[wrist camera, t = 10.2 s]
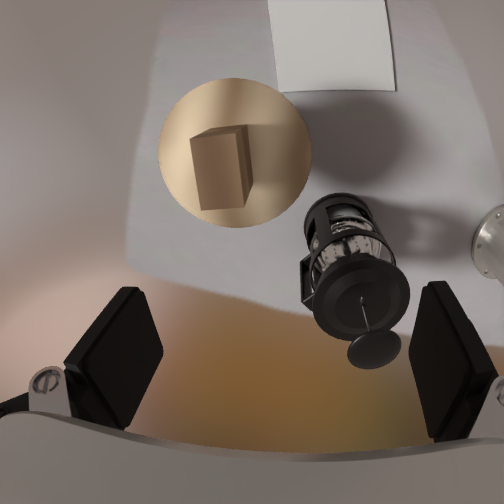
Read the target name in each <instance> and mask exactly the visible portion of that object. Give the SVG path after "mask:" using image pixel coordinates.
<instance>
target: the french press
mask: <svg viewBox="0 0 504 504" xmlns="http://www.w3.org/2000/svg"><path fill="white" fill-rule="evenodd" d="M345 204H346V205H350V206H352V207H354V208H356V209H357V210H358V211H359V212H360V213H361V215H362V217H363V218H362V217H360V216H356V215H339V216H335V217H332V218H330V219H329V218H328V214H327V211H326V209H327V208H330V207H332V206H336V205H345ZM314 223H315V225H316V230H317V231H316V232H315V234H314ZM304 234H305V238H306V240H307V245H308V249H309V251H310V254H309V255H308V256H307V257H305V258H304V259H303V260H302V261H300V283H301V302H302V303H303V304H304V305H305V306H306V307H307V308H308V309H309V310H310V311H313V314H314V318H315V320H316V322H317V324H318V325H319V326H320V327H321V329H322V330H323V331H325V332H326V333H328V334H329V335H331V336H333V337H335V338H337V339H341V340H345V341H353V342H352V343H351V344H350V346H349V348H348V352H347V356H348V359H349V361H350V362H351V364H352V365H354V366H355V367H358V368H361V369H376V368H379V367H382V366H385V365H387V364H388V363H390V362H391V361H392V360H394V359H395V358H396V356H397V355H398V354H399V352H400V349H401V339H400V337H399V336H398V335H397V334H396V333H395V332H393V331H391V330H390V329H391V328H392V327H394V326H395V325H396V324H397V323H398V322H399V321H400V319H401V318H402V317H403V315H404V314H405V312H406V310H407V307H408V305H409V300H410V287H409V284H408V281H407V279H406V277H405V275H404V274H403V272H402V271H401V270H400V269H399V268H398V267H397V266H396V261H395V257H394V254H393V253H392V251H391V249H390V247H389V245H388V244H387V242H386V240H385V238H384V237H383V235H382V233H381V231H380V230H379V228H378V226H377V224H376V223H375V221H374V219H373V216H372V214H371V211H370V210H369V208H368V207H367V205H366V204H365V203H364V202H363V201H362V200H361V199H359V198H357V197H356V196H353V195H350V194H346V193H334V194H330V195H327V196H325V197H322V198H321V199H319V200H318V201H316V202H315V203H314V204H313V205H312V206H311V208H310V209H309V211H308V212H307V215H306V217H305V221H304ZM381 243H382V244H384V245H385V246H386V247H387V248H388V250H389V252H390V255H391V263H390V262H388V261H385V260H382V259H378V258H379V255H380V251H381ZM312 271H313V275H314V281H313V278H312ZM311 285H312V287H311ZM312 288H313V290H314V293H312Z"/></svg>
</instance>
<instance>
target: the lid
mask: <svg viewBox="0 0 504 504" xmlns="http://www.w3.org/2000/svg"><path fill="white" fill-rule="evenodd" d="M158 157H159V165H160V169H161V173H162V176H163V178H164V181H165V183H166V185H167V187H168V189H169V191H170V192H171V193H172V195H173V196H174V198H175V199H176V200H177V201H178V202H179V203H180V204H181V205H182V206H183V207H184V208H185V209H186V210H187V211H189V212H190V213H192V214H193V215H194V216H196V217H198V218H200V219H202V220H204V221H206V222H209V223H211V224H214V225H219V226H223V227H231V228H243V227H251V226H255V225H259V224H262V223H265V222H267V221H270V220H272V219H273V218H275V217H277V216H279V215H280V214H281V213H283V212H284V211H286V210H287V209H288V208H289V207H290V206H291V205H292V204H293V203H294V202H295V200H296V199H297V198H298V197H299V195H300V193H301V192H302V190H303V189H304V186H305V184H306V182H307V180H308V176H309V173H310V169H311V162H312V147H311V140H310V136H309V133H308V129H307V127H306V125H305V122H304V120H303V119H302V117H301V115H300V114H299V112H298V110H297V109H296V108H295V107H294V106H293V104H292V103H291V102H290V101H289V100H288V99H287V98H286V97H284V96H283V95H282V94H281V93H279V92H278V91H276V90H275V89H273V88H271V87H269V86H267V85H265V84H262V83H259V82H256V81H252V80H247V79H239V78H228V79H220V80H215V81H211V82H208V83H206V84H203V85H201V86H199V87H197V88H195V89H193V90H192V91H190V92H189V93H187V94H186V95H185V96H184V97H183V98H182V99H180V100H179V101H178V102H177V104H176V105H175V106H174V107H173V108H172V110H171V111H170V113H169V115H168V116H167V118H166V120H165V122H164V125H163V127H162V130H161V134H160V138H159V145H158Z"/></svg>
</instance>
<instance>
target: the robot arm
mask: <svg viewBox="0 0 504 504" xmlns="http://www.w3.org/2000/svg"><path fill="white" fill-rule="evenodd" d="M472 259H473V262H474V265H475V267H476V268H477V270H478V271H479V272H480V273H481V274H482V275H483V276H484V277H487V278H490V279H498V280H499V282H500V283H501V284H502V285H503V286H504V205H501V206H499V207H497V208H495V209H494V210H493V211H491V212H490V213H489V214H488V215H487V216H486V217H485V218H484V220H483V221H482V222H481V224H480V226H479V228H478V229H477V232H476V234H475V237H474V241H473V245H472ZM162 357H163V346H162V343H161V341H160V338H159V335H158V332H157V330H156V327H155V324H154V321H153V318H152V315H151V312H150V309H149V306H148V303H147V300H146V297H145V294H144V292H143V291H140V289H139V288H138V287H122V288H120V290H119V291H118V292H117V293H116V295H115V296H114V297H113V298H112V300H111V301H110V302H109V303H108V304H107V306H106V307H105V308H104V309H103V311H102V312H101V313H100V315H99V316H98V317H97V318H96V320H95V321H94V322H93V323H92V325H91V326H90V327H89V329H88V330H87V331H86V332H85V334H84V335H83V336H82V338H81V339H80V340H79V342H78V343H77V344H76V346H75V347H74V348H73V350H72V351H71V352H70V354H69V355H68V356H67V358H66V359H65V360H64V362H63V363H64V365H65V366H66V369H65V370H64V371H63V370H62V369H61V368H59V367H57V366H50V367H45V368H43V369H41V370H40V371H38V372H37V373H36V374H35V375H34V376H33V377H32V379H31V381H30V383H29V392H27V393H24V394H22V395H20V396H17V397H15V398H12V399H10V400H7V401H5V402H2V403H0V504H504V375H501V376H499V375H498V373H497V371H496V369H495V367H494V365H493V363H492V361H491V359H490V357H489V354H488V352H487V351H486V349H485V347H484V345H483V343H482V341H481V339H480V337H479V335H478V333H477V331H476V329H475V328H474V326H473V324H472V322H471V321H470V320H469V319H468V317H467V315H466V314H465V312H464V310H463V308H462V307H461V305H460V303H459V302H458V300H457V298H456V296H455V295H454V293H453V291H452V290H451V288H450V287H449V285H448V283H447V282H446V281H431V282H429V283H428V285H427V286H424V287H423V289H422V293H421V298H420V303H419V308H418V313H417V317H416V321H415V326H414V330H413V334H412V338H411V342H410V346H409V360H410V363H411V367H412V370H413V374H414V378H415V382H416V385H417V389H418V393H419V397H420V401H421V405H422V409H423V414H424V418H425V423H426V427H427V431H428V436H429V437H430V438H434V443H433V444H427V445H419V446H412V447H404V448H395V449H384V450H373V451H362V452H344V453H343V452H342V453H277V452H258V451H245V450H234V449H224V448H215V447H207V446H200V445H193V444H186V443H181V442H174V441H169V440H164V439H158V438H153V437H148V436H144V435H139V434H135V433H130V432H126V431H124V429H125V427H128V426H129V425H130V423H131V421H132V419H133V417H134V415H135V413H136V411H137V409H138V407H139V405H140V402H141V400H142V398H143V396H144V394H145V392H146V390H147V388H148V386H149V384H150V382H151V379H152V377H153V375H154V373H155V371H156V369H157V367H158V365H159V363H160V361H161V359H162Z"/></svg>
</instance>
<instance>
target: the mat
mask: <svg viewBox="0 0 504 504" xmlns="http://www.w3.org/2000/svg"><path fill="white" fill-rule="evenodd" d="M268 7H269V15H270V22H271V30H272V37H273V45H274V53H275V62H276V70H277V79H278V88H279V92H294V91H313V90H385V91H395V85H394V72H393V61H392V51H391V43H390V35H389V27H388V20H387V14H386V8H385V2H384V0H268Z"/></svg>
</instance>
